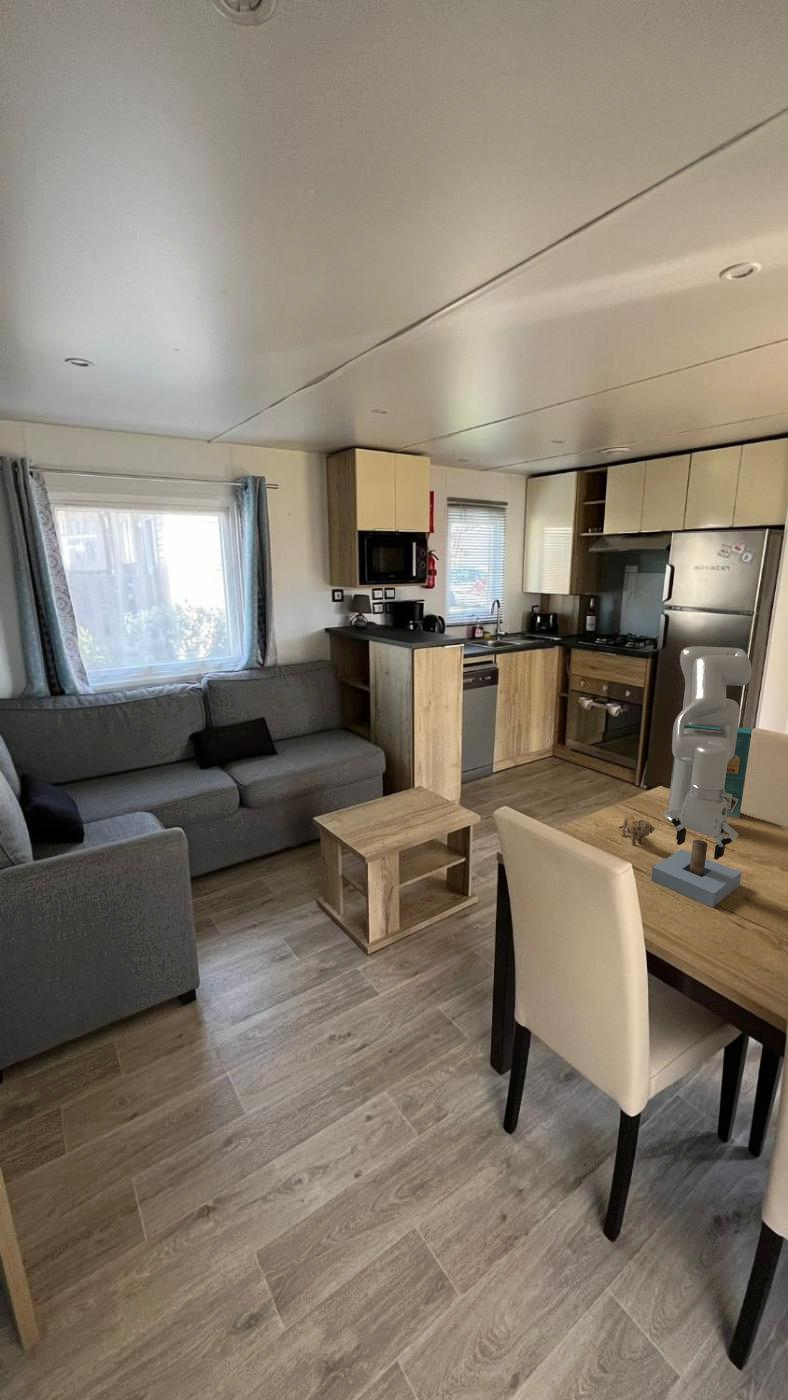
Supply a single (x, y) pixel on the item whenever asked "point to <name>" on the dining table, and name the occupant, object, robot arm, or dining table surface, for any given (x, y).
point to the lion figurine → (637, 828)
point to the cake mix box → (732, 770)
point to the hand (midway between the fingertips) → (698, 850)
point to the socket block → (696, 878)
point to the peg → (698, 857)
